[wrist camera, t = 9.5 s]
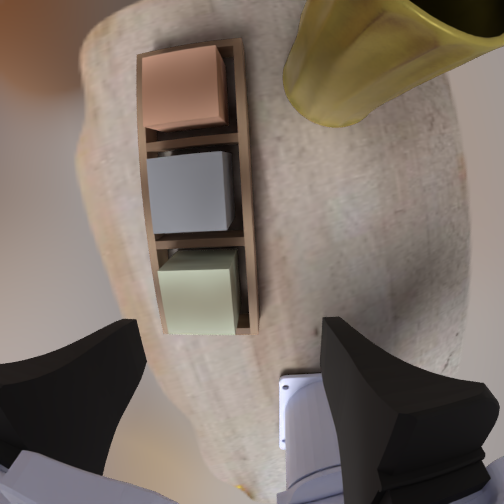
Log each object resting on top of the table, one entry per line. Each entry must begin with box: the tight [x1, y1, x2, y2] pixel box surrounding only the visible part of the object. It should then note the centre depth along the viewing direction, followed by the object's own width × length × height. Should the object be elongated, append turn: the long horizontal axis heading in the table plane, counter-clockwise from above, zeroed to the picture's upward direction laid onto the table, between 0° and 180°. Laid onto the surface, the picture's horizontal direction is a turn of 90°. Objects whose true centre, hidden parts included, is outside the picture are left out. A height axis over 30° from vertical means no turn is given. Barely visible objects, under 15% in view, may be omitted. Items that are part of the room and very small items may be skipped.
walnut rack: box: [137, 38, 259, 335], centre depth 17 cm, size 18×6×4 cm, turn 3°
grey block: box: [146, 151, 235, 234], centre depth 17 cm, size 4×4×4 cm
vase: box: [283, 0, 504, 128], centre depth 10 cm, size 6×6×14 cm
